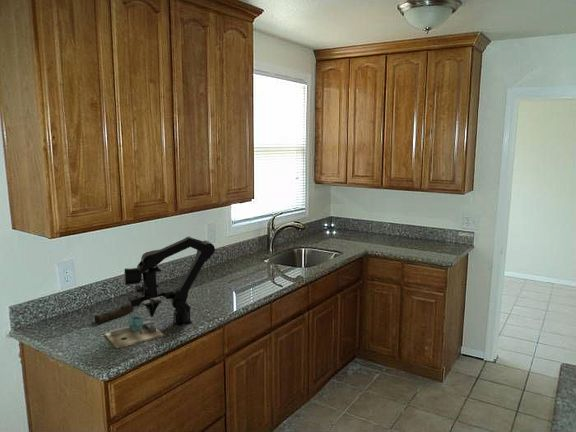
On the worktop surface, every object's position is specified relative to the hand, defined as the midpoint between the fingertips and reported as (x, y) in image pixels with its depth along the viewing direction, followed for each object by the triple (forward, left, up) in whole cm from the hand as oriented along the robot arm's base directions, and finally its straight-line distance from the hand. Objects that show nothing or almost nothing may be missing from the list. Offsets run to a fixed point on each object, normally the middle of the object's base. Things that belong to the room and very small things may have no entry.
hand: (151, 316), depth 195 cm
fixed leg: (+2, +4, -4) cm, 6 cm away
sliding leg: (+7, +2, -4) cm, 8 cm away
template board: (+9, +4, -5) cm, 11 cm away
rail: (+9, 0, -5) cm, 10 cm away
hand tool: (+9, -21, -5) cm, 24 cm away
